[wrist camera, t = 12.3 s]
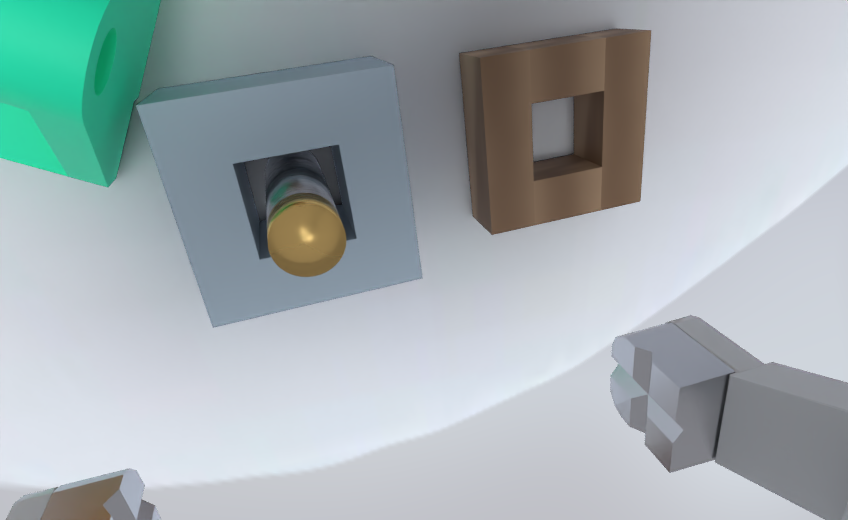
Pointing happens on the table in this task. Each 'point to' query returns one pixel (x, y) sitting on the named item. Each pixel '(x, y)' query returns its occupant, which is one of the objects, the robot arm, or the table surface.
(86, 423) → the table surface
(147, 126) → the dock
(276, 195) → the lock pin
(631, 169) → the pin mount
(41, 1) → the camera mount
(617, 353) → the robot arm
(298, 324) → the table surface
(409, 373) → the table surface
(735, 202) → the table surface
